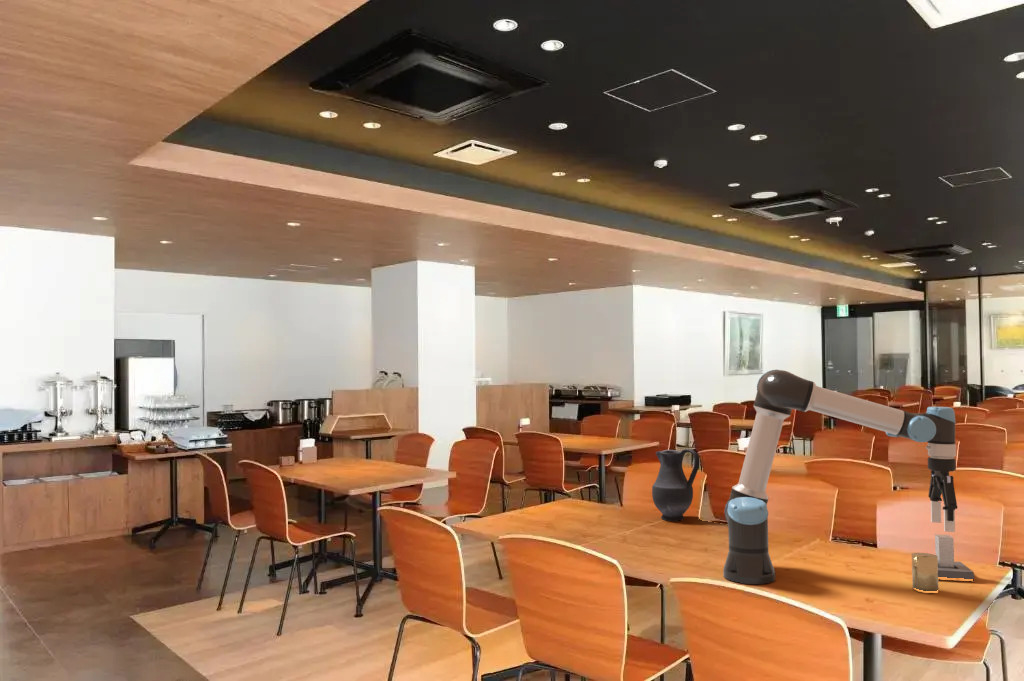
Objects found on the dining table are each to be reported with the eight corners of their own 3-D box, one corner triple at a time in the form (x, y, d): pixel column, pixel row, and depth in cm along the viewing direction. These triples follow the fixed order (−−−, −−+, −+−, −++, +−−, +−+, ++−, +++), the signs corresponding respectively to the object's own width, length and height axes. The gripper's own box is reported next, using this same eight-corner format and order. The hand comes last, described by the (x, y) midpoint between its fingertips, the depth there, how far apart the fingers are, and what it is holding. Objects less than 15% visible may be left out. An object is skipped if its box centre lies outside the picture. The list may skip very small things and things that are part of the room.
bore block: (974, 582, 222) (973, 572, 222) (929, 579, 225) (928, 569, 225) (960, 571, 234) (960, 561, 234) (918, 569, 237) (918, 559, 237)
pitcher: (664, 513, 331) (663, 445, 332) (708, 519, 318) (707, 447, 319) (645, 519, 318) (643, 448, 319) (690, 525, 305) (688, 451, 306)
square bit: (954, 577, 227) (953, 537, 227) (940, 577, 228) (938, 537, 228) (950, 574, 231) (949, 534, 231) (936, 573, 232) (934, 534, 232)
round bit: (941, 594, 210) (940, 558, 211) (916, 593, 212) (914, 557, 213) (934, 588, 217) (933, 553, 217) (910, 586, 218) (909, 552, 219)
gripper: (917, 452, 244) (918, 518, 243) (940, 461, 220) (941, 534, 219) (942, 453, 242) (943, 519, 241) (968, 462, 218) (970, 536, 217)
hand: (942, 527), depth 230 cm, fingers open, 13 cm apart
